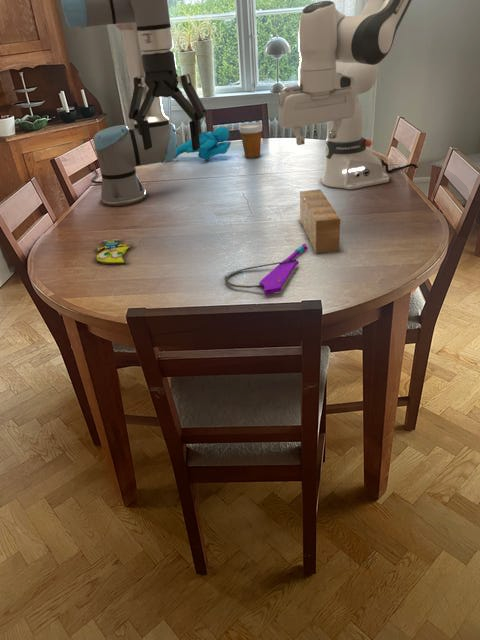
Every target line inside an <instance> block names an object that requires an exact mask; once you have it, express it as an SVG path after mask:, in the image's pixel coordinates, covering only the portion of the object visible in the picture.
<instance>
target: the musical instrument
mask: <svg viewBox="0 0 480 640" xmlns="http://www.w3.org/2000/svg"><path fill="white" fill-rule="evenodd" d="M306 250H308V246H307V244H306V243H303V244H301V245H300V246H299V247H298V248H297V249H295V250H294V252H292V254H290V255H289V256H288V257H286V258H285V259H284V260H282V261H279V262H278V261H277V262H273V263H267V264H261V265H255V266H249V267H245V268H241V269H238V270H236V271H234V272H231V273H230V274H228V275H226V276H225V277H224V282H225V283H226V285H227V286H230V287H234V288H243V289H244V288H245V289H252V288H262V289H263V290H264V295H265V296H267V295H271V294H277V293H281V292H282V291H283V288H284V287H285V285H286V284H287V282H288V280H290V278H291V276H292V274H293V273H294V271H295V270H296V268H297V267H298V265H299V264H300V262H299V260H298V259H296V258H297V257H298V256H299V255H300V254H302V253H303V252H304V251H306ZM275 265H276V267H274V268H273V269H272V270H271V271H270V272H269V273H268V274H267V275H265V276H264V277H263V278H262V279H261V280H259V284H258V285H256V284H255V285H253V284H252V285H239V284H234V283H232V282H230V281H229V280H228V279H229V278H230V277H232V276H233V275H235V274H237V273H240V272H242V271H247V270H251V269H256V268H257V269H258V268H262V267H268V266H275Z"/></svg>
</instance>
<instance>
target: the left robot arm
mask: <svg viewBox="0 0 480 640" xmlns="http://www.w3.org/2000/svg"><path fill="white" fill-rule="evenodd" d="M60 2H61V6H62V11H63V15H64V19H65V23H66V25H67V26H68V27H69V28H71V29H74V28H80V29H84V28H89V27H99V26H106V25H114V27H115V28H117V29H118V30H119V31H120V34H121V37H122V38H121V39H122V45H123V49H124V54H125V60H126V65H127V69H128V75H129V80H130V87H131V92H132V97H131V101H130V107H129V112H128V119H129V120H133V128H132V129H130V128H129V127H128V126H127V125H126V124H121V125H114V126H110V127H107V128H103V129H101V130H99V131H97V132H96V133H95V134H94V136H93V145H94V152H96V153H95V154H96V157H97V162H98V166H99V170H100V176H101V179H102V181H100V180H99V181H98V180H97V181H96V179H98V177H99V172H98V171H97V170H96V169H95V168H92V169H91V170H90V172H91V173H93V172H94V173H95V174H96V175H95V176H93V177H92V178H91V179H90V182H91V183H94V184H101V193H100V196H101V197H100V198H101V199H100V200H101V203H102V204H103V205H104V206H108V207H124V206H130V205H135V204H137V203H140V202H141V201H143V200H145V199H146V197H147V193H146V189H145V186H146V184H145V183H146V182H145V181H144V182H143V183H142V182H141V179H140V178H139V176H138V172H137V168H136V167H141V166H147V165H154V164H160V163H161V164H163V163H166V162H171V161H174V160H175V159H176V158H175V156H176V150H177V147H178V145H177V143H178V141H177V133H176V127H175V124H173V123H171V122H170V118H169V117H168V116H167V115H165V113H164V109H163V104H162V97H163V98H171V99H172V100H174V101H175V102H176V103H177V105H178V106H179V107H180V108H181V109H182V110H183V112H184V113H185V114H186V116H188V118H190V120H191V121H189V122H188V124H189V132H190V139H191V141H192V149H193V151H196V150H197V149H199V148H200V141H199V135H200V134H201V132H202V124H201V120H202V119H204V118H206V117H207V116H208V112H207V110H206V109H205V107H204V104H203V103H202V101H201V98H200V97H199V95H198V93H197V92H196V90H195V88H194V86H193V84H192V83H193V82H192V79H191V76H190V75H191V74H189V73H185V74H182V75H178V73H177V61H176V55H175V54H176V53H175V52H174V51H172V49H174V48H175V46H174V40H173V32H172V26H171V19H170V12H169V4H168V3H169V2H168V0H60ZM178 85H180V86H182V89H183V91H184V93H185V94H186V96H187V98H186V97H185V95H184V94H183V92H182V90H181V88H179V87H178ZM174 158H175V159H174Z"/></svg>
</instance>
